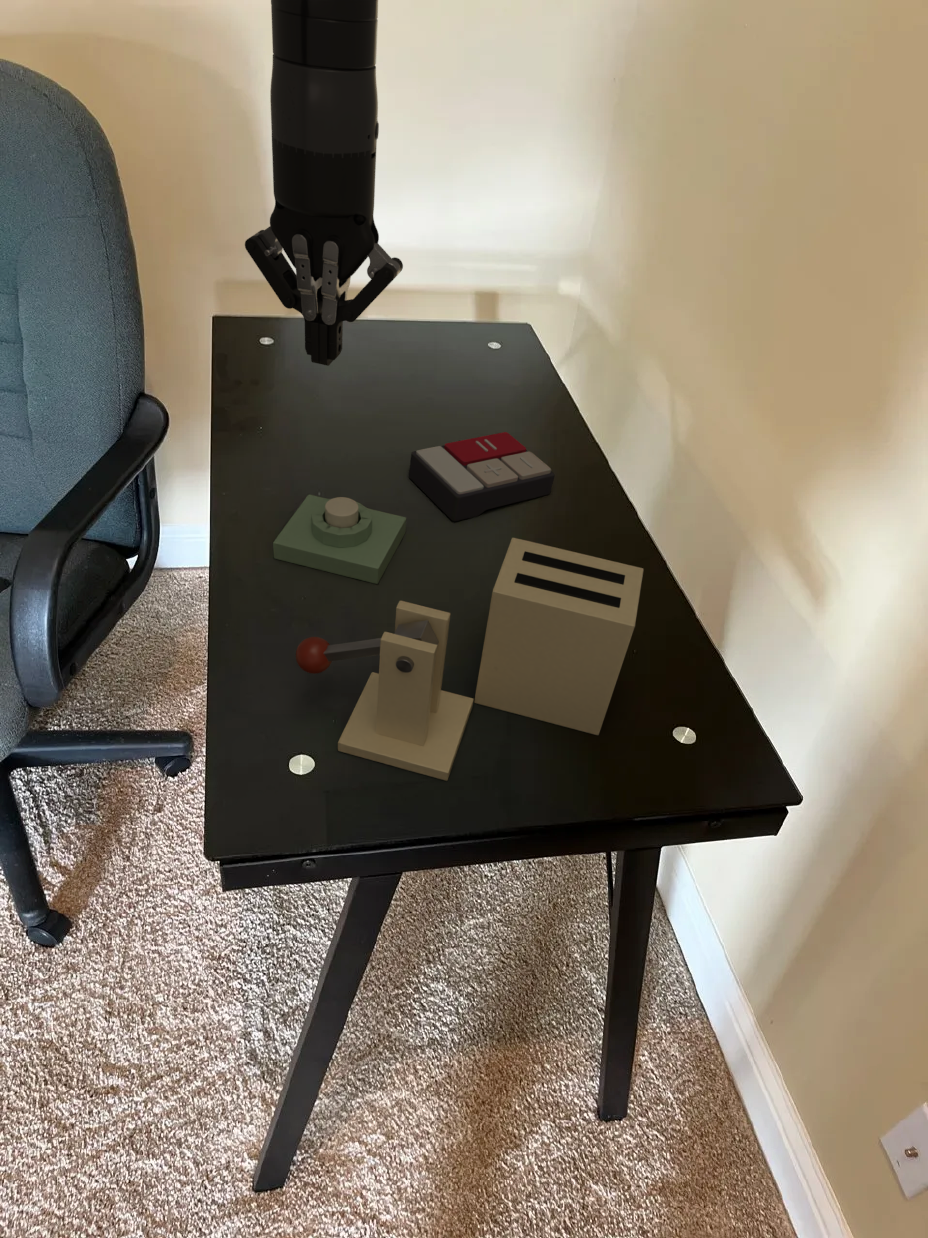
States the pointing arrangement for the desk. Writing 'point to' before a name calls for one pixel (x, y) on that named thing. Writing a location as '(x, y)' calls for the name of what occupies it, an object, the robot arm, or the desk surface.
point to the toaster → (557, 635)
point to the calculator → (479, 474)
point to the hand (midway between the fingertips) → (324, 360)
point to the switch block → (340, 541)
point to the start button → (341, 512)
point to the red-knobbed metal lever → (354, 647)
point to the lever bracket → (409, 703)
